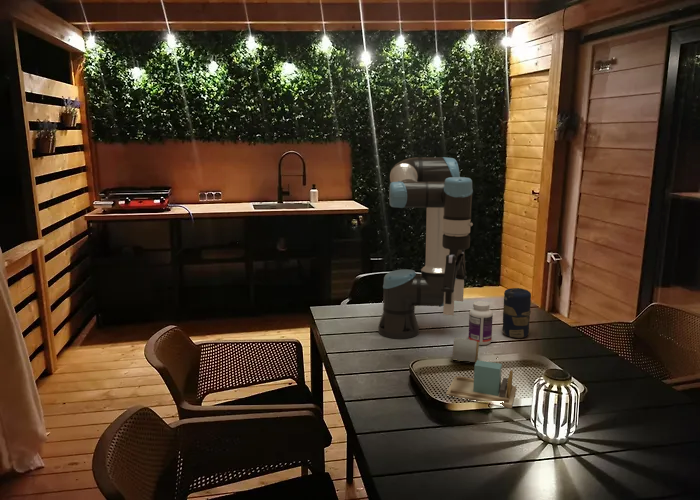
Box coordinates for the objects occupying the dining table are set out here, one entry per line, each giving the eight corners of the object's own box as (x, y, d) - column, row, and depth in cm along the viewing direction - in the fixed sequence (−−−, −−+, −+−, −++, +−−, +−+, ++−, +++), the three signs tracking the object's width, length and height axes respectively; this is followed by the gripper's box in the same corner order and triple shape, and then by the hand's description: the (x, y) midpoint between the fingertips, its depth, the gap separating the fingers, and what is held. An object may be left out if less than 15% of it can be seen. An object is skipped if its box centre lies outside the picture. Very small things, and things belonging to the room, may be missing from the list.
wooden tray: (446, 396, 157) (446, 373, 155) (454, 379, 168) (455, 358, 166) (511, 408, 150) (513, 384, 149) (516, 389, 161) (517, 367, 160)
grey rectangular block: (477, 366, 177) (478, 344, 176) (451, 364, 179) (452, 341, 177) (478, 354, 187) (479, 333, 186) (453, 352, 189) (454, 330, 188)
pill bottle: (489, 338, 201) (491, 300, 198) (492, 346, 194) (495, 307, 190) (467, 337, 202) (468, 299, 199) (469, 345, 194) (471, 306, 191)
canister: (531, 339, 200) (535, 291, 196) (505, 339, 200) (508, 291, 196) (524, 330, 209) (527, 284, 205) (499, 330, 209) (501, 284, 206)
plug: (473, 391, 158) (474, 365, 156) (475, 385, 161) (477, 360, 160) (498, 395, 155) (499, 369, 154) (500, 389, 159) (501, 363, 157)
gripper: (461, 243, 140) (458, 322, 144) (477, 227, 163) (474, 296, 167) (432, 240, 143) (429, 319, 147) (452, 226, 165) (449, 294, 170)
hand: (453, 307), depth 157 cm, fingers open, 13 cm apart
